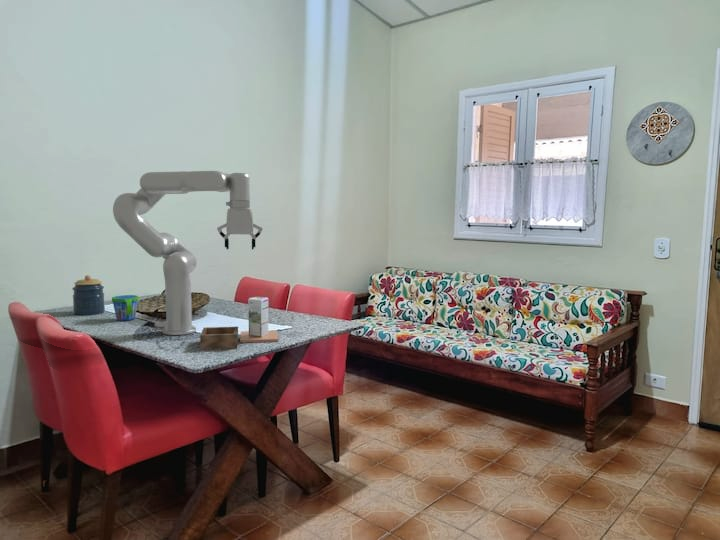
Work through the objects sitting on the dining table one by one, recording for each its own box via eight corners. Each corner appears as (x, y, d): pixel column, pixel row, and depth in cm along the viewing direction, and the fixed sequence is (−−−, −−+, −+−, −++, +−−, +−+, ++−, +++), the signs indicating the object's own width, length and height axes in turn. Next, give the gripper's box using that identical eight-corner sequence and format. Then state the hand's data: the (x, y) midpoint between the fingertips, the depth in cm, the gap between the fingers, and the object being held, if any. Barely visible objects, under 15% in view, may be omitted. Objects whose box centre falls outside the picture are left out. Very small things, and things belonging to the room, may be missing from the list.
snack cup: (111, 317, 226) (110, 294, 225) (136, 315, 231) (135, 293, 230) (114, 324, 213) (113, 300, 211) (141, 321, 218) (140, 298, 217)
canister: (78, 310, 240) (76, 273, 238) (107, 309, 243) (106, 273, 241) (69, 316, 228) (67, 277, 226) (101, 315, 231) (99, 276, 229)
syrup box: (269, 334, 196) (268, 297, 194) (261, 337, 190) (261, 299, 188) (256, 332, 197) (255, 296, 196) (248, 336, 192) (247, 298, 190)
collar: (200, 349, 176) (200, 335, 175) (203, 340, 188) (203, 327, 187) (237, 348, 178) (237, 334, 178) (238, 339, 190) (238, 326, 190)
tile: (239, 342, 186) (239, 340, 185) (240, 333, 199) (240, 331, 199) (278, 341, 188) (278, 338, 188) (276, 332, 202) (276, 330, 202)
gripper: (216, 204, 191) (216, 249, 193) (262, 205, 195) (262, 249, 197) (217, 205, 198) (218, 248, 200) (262, 205, 202) (262, 248, 204)
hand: (240, 249), depth 198 cm, fingers open, 9 cm apart
